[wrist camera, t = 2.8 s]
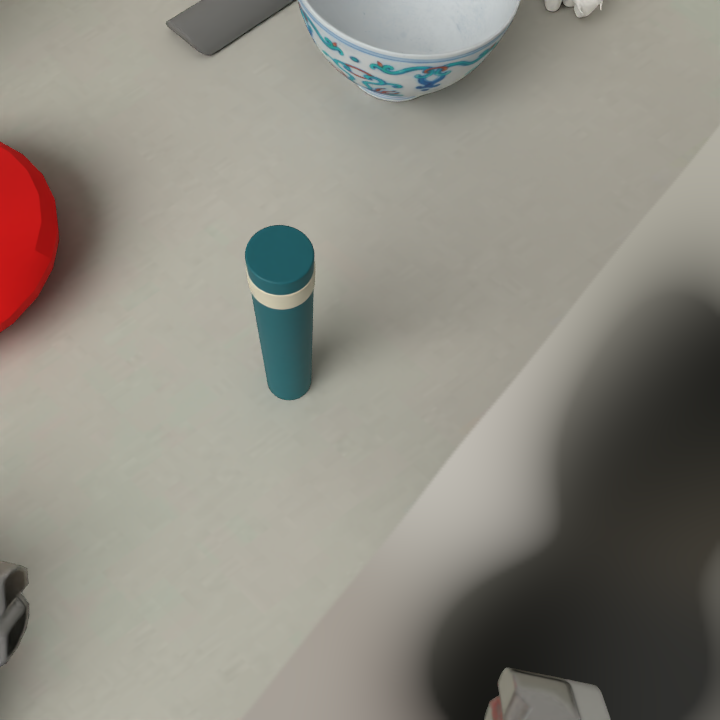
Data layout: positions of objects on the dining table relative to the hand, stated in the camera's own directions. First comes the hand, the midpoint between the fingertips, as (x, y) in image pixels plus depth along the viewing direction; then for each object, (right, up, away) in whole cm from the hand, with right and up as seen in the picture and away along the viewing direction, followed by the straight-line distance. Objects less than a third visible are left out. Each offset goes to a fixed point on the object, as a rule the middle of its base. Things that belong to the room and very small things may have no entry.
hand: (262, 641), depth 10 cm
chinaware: (+4, +27, +35) cm, 45 cm away
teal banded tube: (-3, +4, +25) cm, 26 cm away
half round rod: (-5, +35, +38) cm, 51 cm away
